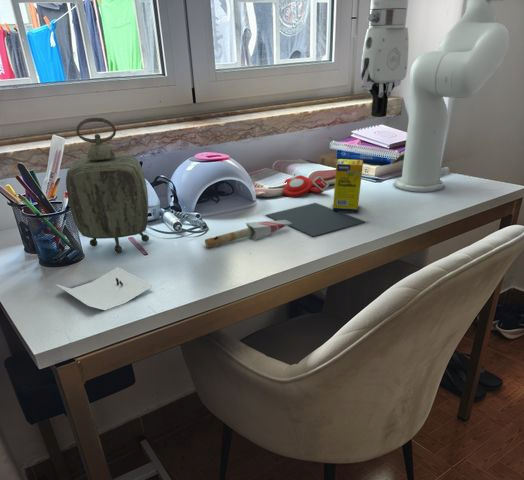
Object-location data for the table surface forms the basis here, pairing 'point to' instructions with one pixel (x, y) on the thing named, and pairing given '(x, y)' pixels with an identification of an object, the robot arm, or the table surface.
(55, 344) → the table surface
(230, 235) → the paintbrush
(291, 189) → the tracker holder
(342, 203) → the supplement box
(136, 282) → the folded paper
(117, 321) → the table surface
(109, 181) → the tabletop clock
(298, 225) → the mat
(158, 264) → the table surface
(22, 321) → the table surface
